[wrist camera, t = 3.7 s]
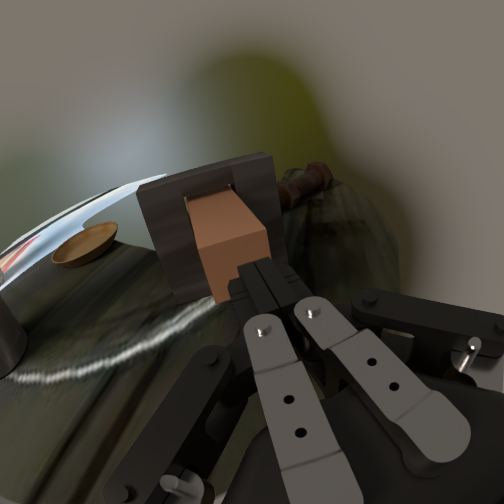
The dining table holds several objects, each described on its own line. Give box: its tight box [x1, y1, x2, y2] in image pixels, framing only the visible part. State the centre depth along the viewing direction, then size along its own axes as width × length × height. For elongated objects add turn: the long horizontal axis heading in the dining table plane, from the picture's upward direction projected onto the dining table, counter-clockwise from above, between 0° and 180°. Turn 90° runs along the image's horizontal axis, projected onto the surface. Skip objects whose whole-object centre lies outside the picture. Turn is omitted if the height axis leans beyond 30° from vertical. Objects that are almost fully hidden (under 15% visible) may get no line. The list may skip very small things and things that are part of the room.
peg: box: [186, 185, 271, 304], centre depth 22 cm, size 13×4×4 cm, turn 17°
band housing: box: [136, 152, 289, 305], centre depth 32 cm, size 16×12×12 cm
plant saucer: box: [52, 222, 118, 268], centre depth 44 cm, size 15×15×3 cm
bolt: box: [277, 162, 333, 210], centre depth 45 cm, size 6×5×15 cm
